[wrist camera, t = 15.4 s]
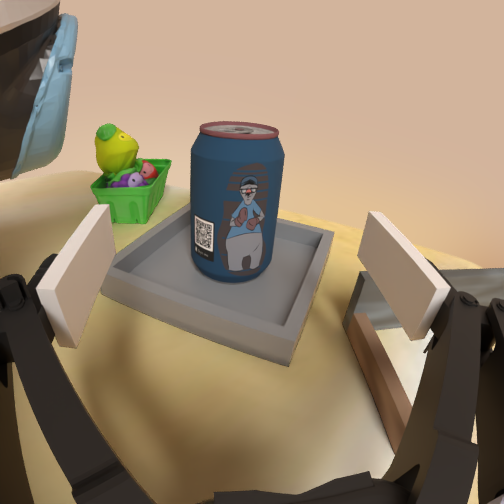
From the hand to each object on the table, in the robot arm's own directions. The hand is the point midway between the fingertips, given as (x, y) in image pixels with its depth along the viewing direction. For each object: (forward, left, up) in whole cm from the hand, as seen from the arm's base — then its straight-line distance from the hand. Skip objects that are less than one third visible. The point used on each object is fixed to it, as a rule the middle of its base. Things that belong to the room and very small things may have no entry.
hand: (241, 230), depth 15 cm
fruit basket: (-21, +16, -10) cm, 28 cm away
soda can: (-4, +9, -9) cm, 13 cm away
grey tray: (-4, +9, -9) cm, 13 cm away
